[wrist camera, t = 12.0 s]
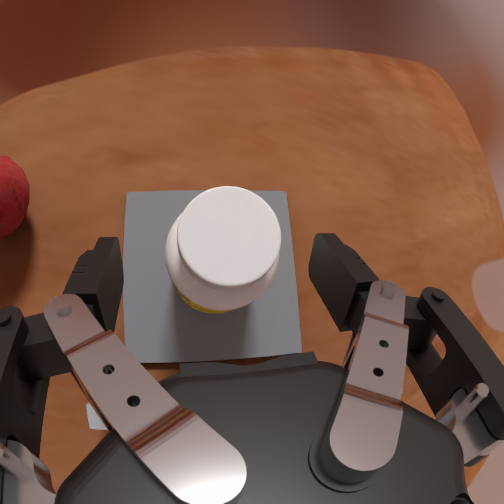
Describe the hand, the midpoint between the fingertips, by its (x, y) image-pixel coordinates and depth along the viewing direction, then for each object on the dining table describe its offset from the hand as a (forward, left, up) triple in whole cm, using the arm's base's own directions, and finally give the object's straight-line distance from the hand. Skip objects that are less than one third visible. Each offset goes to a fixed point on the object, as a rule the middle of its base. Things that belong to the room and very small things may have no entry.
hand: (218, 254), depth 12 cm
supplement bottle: (0, +1, -9) cm, 9 cm away
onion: (-16, +6, -9) cm, 19 cm away
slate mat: (0, +1, -9) cm, 9 cm away
